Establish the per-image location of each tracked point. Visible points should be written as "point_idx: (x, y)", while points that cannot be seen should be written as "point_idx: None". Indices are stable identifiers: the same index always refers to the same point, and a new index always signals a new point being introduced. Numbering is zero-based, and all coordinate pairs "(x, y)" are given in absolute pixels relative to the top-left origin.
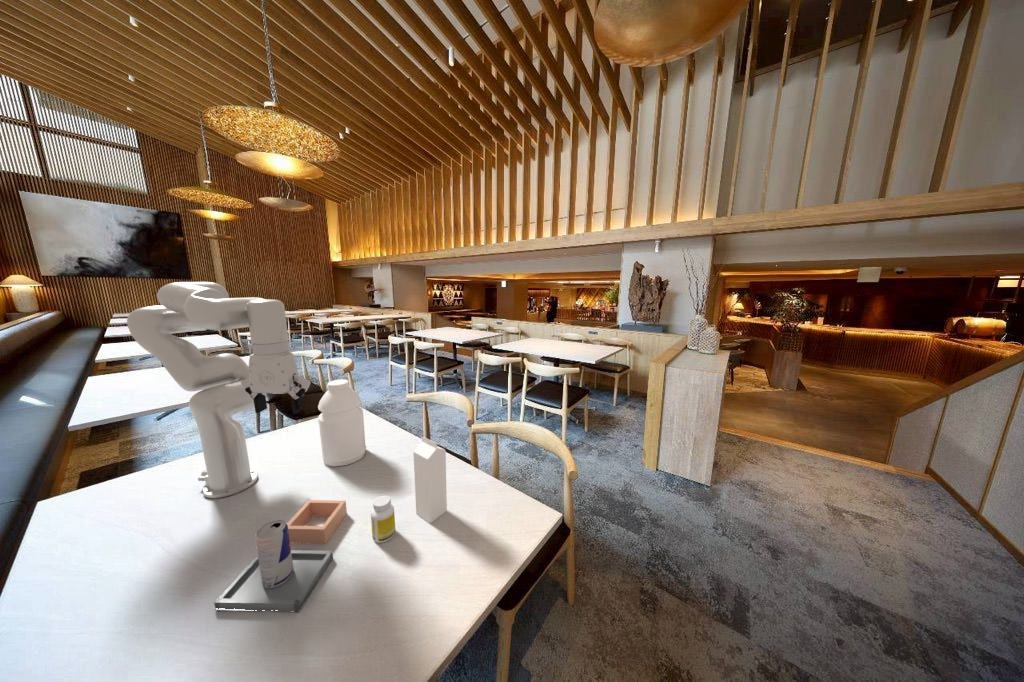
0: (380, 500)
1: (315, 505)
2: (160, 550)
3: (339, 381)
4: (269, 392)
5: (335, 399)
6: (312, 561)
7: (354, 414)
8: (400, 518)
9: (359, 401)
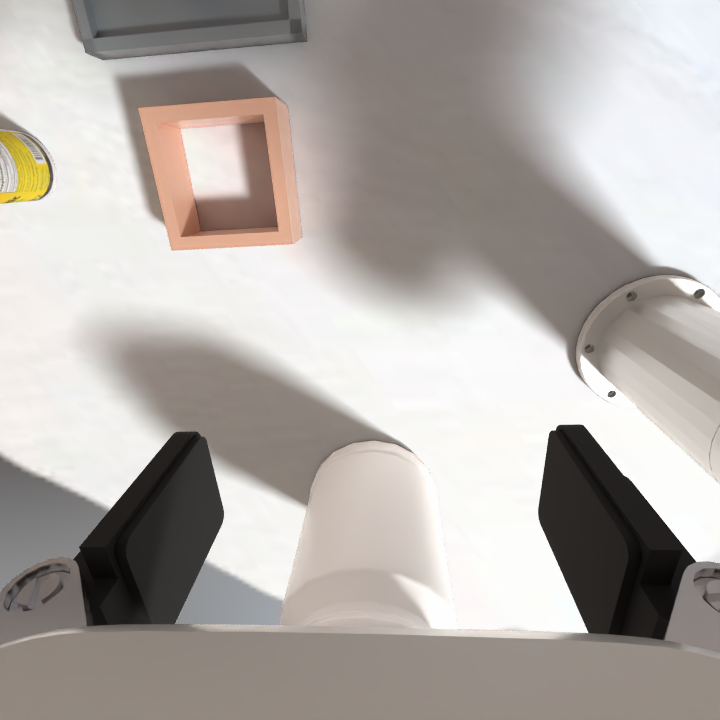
0: None
1: (265, 231)
2: (659, 31)
3: None
4: (326, 641)
5: None
6: (132, 21)
7: (289, 622)
8: (29, 236)
9: None
